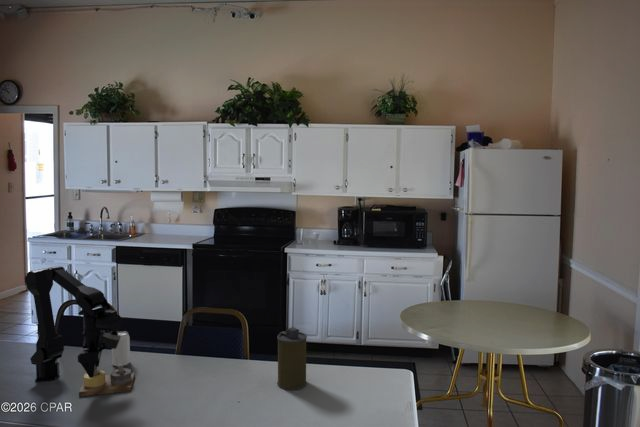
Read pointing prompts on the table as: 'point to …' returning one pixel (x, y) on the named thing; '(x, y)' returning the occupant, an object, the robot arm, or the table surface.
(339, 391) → the table surface
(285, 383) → the canister
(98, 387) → the gear board
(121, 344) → the can
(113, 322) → the robot arm
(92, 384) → the tan ring
